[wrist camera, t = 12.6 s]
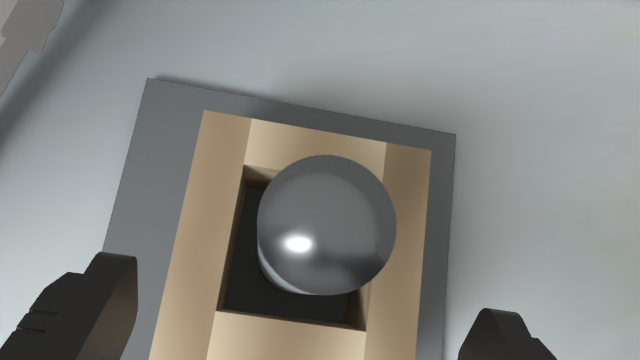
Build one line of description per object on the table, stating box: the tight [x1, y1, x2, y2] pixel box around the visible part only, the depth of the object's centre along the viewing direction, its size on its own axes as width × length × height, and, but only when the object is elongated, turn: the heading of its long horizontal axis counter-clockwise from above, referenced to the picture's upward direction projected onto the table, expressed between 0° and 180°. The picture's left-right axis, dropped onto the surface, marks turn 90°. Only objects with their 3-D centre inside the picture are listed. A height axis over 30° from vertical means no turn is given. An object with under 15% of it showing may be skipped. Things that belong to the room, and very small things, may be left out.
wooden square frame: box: [149, 110, 431, 360], centre depth 18 cm, size 9×9×4 cm
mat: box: [102, 78, 456, 360], centre depth 20 cm, size 15×16×1 cm
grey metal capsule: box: [257, 155, 397, 295], centre depth 15 cm, size 3×3×10 cm
